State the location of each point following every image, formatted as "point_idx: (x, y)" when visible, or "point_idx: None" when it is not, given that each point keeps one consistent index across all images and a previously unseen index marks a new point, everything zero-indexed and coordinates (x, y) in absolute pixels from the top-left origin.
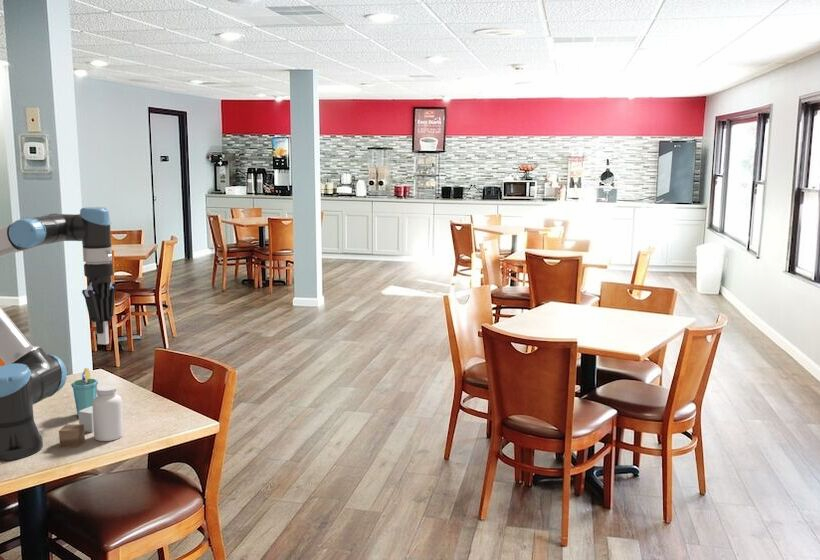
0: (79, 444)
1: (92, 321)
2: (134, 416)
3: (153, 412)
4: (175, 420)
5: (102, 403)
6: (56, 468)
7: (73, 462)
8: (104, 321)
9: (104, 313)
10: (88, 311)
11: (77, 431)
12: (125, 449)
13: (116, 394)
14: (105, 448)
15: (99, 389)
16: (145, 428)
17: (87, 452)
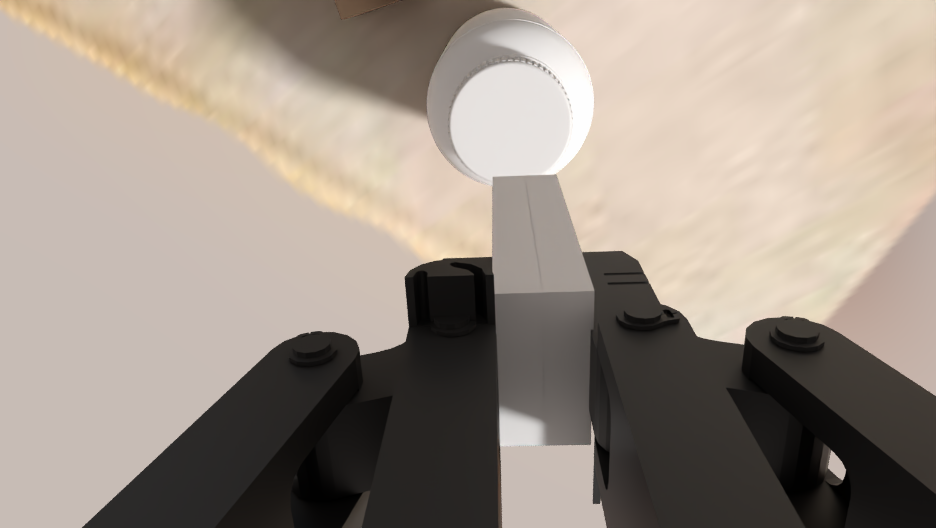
0: (372, 10)
1: (420, 273)
2: (796, 17)
3: (866, 80)
4: (760, 246)
5: (433, 133)
6: (144, 88)
7: (217, 115)
8: (555, 408)
9: (613, 495)
10: (135, 490)
11: (347, 17)
12: (399, 233)
13: (571, 137)
14: (383, 147)
15: (465, 103)
16: (639, 174)
17: (321, 101)
